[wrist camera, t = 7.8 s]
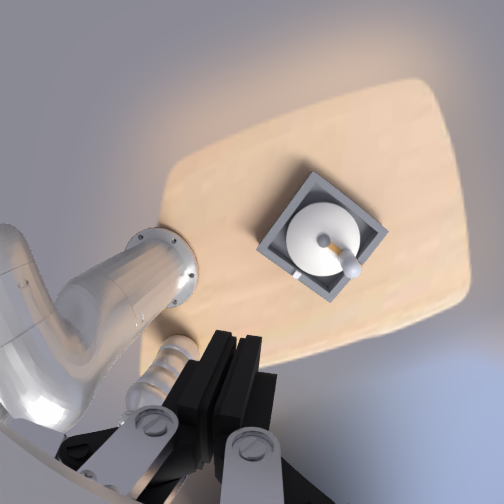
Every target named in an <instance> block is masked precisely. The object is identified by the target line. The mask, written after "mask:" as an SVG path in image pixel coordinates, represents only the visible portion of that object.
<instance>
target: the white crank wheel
mask: <svg viewBox="0 0 504 504" xmlns="http://www.w3.org/2000/svg"><path fill="white" fill-rule="evenodd" d="M286 244H287V249H288V253H289V255H290V257H291V259H292V260H293V262H294V263H295V264H296V265H297V266H298V267H299V268H300V269H301V270H303V271H305V272H307V273H309V274H312V275H316V276H330V275H334V274H336V273H339V272H341V271H342V270H343V272H344V274H345V276H346V277H348V278H351V279H353V278H356V277H358V276H359V275H360V273H361V265H360V264H359V262H358V261H357V259H356V255H357V252H358V250H359V245H360V233H359V229H358V226H357V224H356V222H355V220H354V218H353V217H352V216H351V215H350V214H349V213H348V212H347V211H346V210H345V209H344V208H342V207H340V206H339V205H337V204H334V203H331V202H322V201H321V202H314V203H311V204H308V205H306V206H304V207H303V208H301V209H300V210H299V211H298V212H297V213H296V214H295V215H294V216H293V218H292V220H291V221H290V224H289V226H288V230H287V236H286Z"/></svg>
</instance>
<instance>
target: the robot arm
mask: <svg viewBox="0 0 504 504" xmlns="http://www.w3.org/2000/svg"><path fill="white" fill-rule="evenodd" d="M175 239H176V241H175ZM192 273H193V274H194V275H193V274H192ZM197 282H198V265H197V260H196V258H195V255H194V253H193V251H192V249H191V248H190V246H189V245H188V244H187V243H186V241H185V240H184V239H183V238H181V237H180V236H179V235H178V234H176V233H174V232H172V231H171V230H168V229H165V228H158V227H154V228H148V229H145V230H143V231H140V232H138V233H137V234H136V235H135V236H134V237H132V238H131V240H130V241H129V242H128V244H127V247H126V249H125V251H124V252H122V253H120V254H118V255H116V256H114V257H112V258H110V259H108V260H106V261H104V262H102V263H100V264H98V265H96V266H94V267H92V268H90V269H89V270H87V271H85V272H84V273H81V274H79V275H78V276H76V277H74V278H73V279H71V280H70V281H69V282H68V283H67V284H66V285H65V286H64V287H63V288H62V290H61V291H60V292H59V294H58V296H57V298H56V300H55V302H54V303H53V301H52V299H51V297H50V295H49V293H48V290H47V288H46V286H45V284H44V281H43V279H42V277H41V274H40V272H39V269H38V267H37V264H36V262H35V259H34V256H33V254H32V251H31V249H30V247H29V244H28V242H27V240H26V238H25V237H24V235H23V234H22V232H21V231H20V230H19V229H17V228H16V227H15V226H12V225H11V224H5V223H0V504H170V503H171V502H172V500H173V499H174V497H175V496H176V494H177V492H178V491H179V489H180V488H181V486H182V485H183V483H184V482H185V480H186V477H187V475H188V474H191V473H194V472H196V469H201V470H202V468H203V466H204V463H210V462H211V459H212V457H213V454H214V465H215V477H216V478H217V479H218V481H219V482H220V483H221V484H222V490H221V502H220V504H335V503H334V502H333V501H332V500H331V499H330V498H329V497H327V496H326V495H325V494H324V493H322V492H321V491H320V490H319V489H317V488H316V487H315V486H314V485H313V484H311V483H310V482H309V481H308V480H307V479H306V478H304V477H303V476H302V475H301V474H300V473H299V472H298V471H296V470H295V469H294V468H293V467H292V466H291V465H289V463H287V462H286V461H285V460H284V459H283V458H282V457H281V454H280V445H279V442H278V440H277V438H276V437H275V436H274V435H273V434H272V433H271V432H269V425H270V419H271V413H272V406H273V400H274V393H275V386H276V379H277V374H270V373H264V372H258V368H259V360H260V351H261V343H262V337H259V336H252V335H247V336H246V338H240V340H239V343H238V346H237V349H236V342H237V338H236V337H233V336H232V333H231V332H227V331H221V330H216V331H215V333H214V335H213V337H212V339H211V341H210V342H209V344H208V346H207V348H206V350H205V352H204V354H203V356H202V358H201V359H200V361H196V360H192V359H190V360H188V362H187V363H186V365H185V366H184V368H183V370H182V371H181V373H180V375H179V377H178V378H177V380H176V382H175V383H174V385H173V387H172V388H171V390H170V392H169V394H168V395H167V397H166V399H165V400H164V402H163V404H162V405H161V406H159V405H149V406H144V407H141V408H139V409H137V410H136V411H135V412H134V413H133V414H132V415H131V416H130V417H129V418H128V419H127V420H126V421H125V422H124V423H123V424H122V425H121V426H120V427H115V428H111V429H106V430H102V431H97V432H92V433H87V434H81V435H76V436H72V437H67V436H66V434H65V433H63V432H65V431H67V430H69V429H70V428H72V427H73V426H74V425H75V424H76V423H77V422H78V421H79V420H80V419H81V417H82V416H83V415H84V413H85V412H86V410H87V409H88V407H89V405H90V403H91V402H92V400H93V397H94V396H95V394H96V392H97V390H98V387H99V386H100V384H101V382H102V380H103V378H104V377H105V375H106V374H107V372H108V371H109V369H110V368H111V367H112V366H113V364H114V363H115V362H116V360H117V359H118V358H119V357H120V356H121V355H122V354H123V352H124V351H125V350H126V349H127V348H128V347H129V346H130V345H131V344H132V343H133V341H134V340H136V338H137V337H138V336H139V335H140V334H141V333H142V332H143V331H144V330H145V329H146V328H147V327H148V326H149V325H150V323H151V322H152V321H153V320H154V319H155V318H156V317H157V316H158V315H159V314H160V313H161V312H162V311H163V310H164V309H165V308H172V307H176V306H179V305H181V304H183V303H184V302H185V301H187V300H188V298H189V297H190V296H191V295H192V293H193V292H194V290H195V288H196V286H197ZM9 414H11V416H12V417H13V418H15V419H14V420H12V421H10V422H9V424H8V425H6V424H4V423H5V421H6V420H7V418H8V416H9ZM348 504H349V503H348Z"/></svg>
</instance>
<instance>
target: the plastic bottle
mask: <svg viewBox="0 0 504 504" xmlns="http://www.w3.org/2000/svg"><path fill="white" fill-rule="evenodd" d="M199 356H200V352H199V349H198V347H197V345H196V343H195V342H194V341H193V340H191V339H190V338H188V337H186V336H183V335H173V336H170V337H169V338H167V339H166V340H165V341H164V342H163V343H162V345H161V347H160V349H159V351H158V354H157V356H156V358H155V360H154V361H153V363H152V365H151V366H150V367H149V369H148V370H147V371H146V372H145V373H144V374H143V375H142V376H141V377H140V378H139V379H138V380H137V381H136V382H135V383H134V384H133V385H132V386H131V387H130V388H129V389H128V391H127V393H126V398H125V401H126V409H127V411H125V412H124V413H123V414H122V417H121V419H120V420H119V421H118V427H120V426H121V425H122V424H123V423H124V422H125V421H126V420H127V419H128V418H129V417H130V416H131V415H132V414H133V413H134V412H135V411H136V410H137V409H139V408H141V407H144V406H149V405H159V406H161V405H162V404H163V402H164V400H165V399H166V397H167V395H168V394H169V392H170V390H171V388H172V387H173V385H174V383H175V382H176V380H177V378H178V377H179V375H180V373H181V371H182V370H183V368H184V366H185V365H186V363H187V362H188V360H190V359H192V360H196V361H199Z"/></svg>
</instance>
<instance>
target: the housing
mask: <svg viewBox="0 0 504 504" xmlns="http://www.w3.org/2000/svg"><path fill="white" fill-rule="evenodd" d="M321 201H322V202H331V203H334V204H337V205H339V206H340V207H342V208H344V209H345V210H346V211H347V212H348V213H349V214H350V215H351V216H352V217H353V218H354V220H355V222H356V224H357V226H358V229H359V233H360V245H359V250H358V252H357V255H356V259H357V261H358V262H359V264H360V265H361V268H362V267H363V266H362V265H363V264H364V262H365V261H366V260H367V259H368V257H369V256H370V255H371V254H372V252H373V251H374V250H375V249H376V247H377V246H378V245H379V244H380V242H381V241H382V240H383V238H384V237H385V236H386V234H387V233H388V232H389V231H388V230H387V229H385V228H384V227H383V226H382V225H381V224H380V223H378V222H377V221H376V220H375V219H374V218H373V217H371V216H370V215H369V214H368V213H367V212H365V211H364V210H363V209H362V208H360V207H359V206H358V205H357V204H355V203H354V202H353V201H352V200H350V199H349V198H348V197H347V196H345V195H344V194H343V193H342V192H340V191H339V190H338V189H336V188H335V187H334V186H333V185H331V184H330V183H329V182H327V181H326V180H325V179H323V178H322V177H321V176H319V175H318V174H317V173H315V172H314V171H312V172H311V173H310V175H309V176H308V177H307V179H306V180H305V182H304V183H303V184H302V186H301V187H300V189H299V190H298V191H297V193H296V194H295V195H294V197H293V198H292V200H291V201H290V202H289V204H288V205H287V206H286V208H285V209H284V211H283V212H282V213H281V215H280V216H279V217H278V219H277V220H276V222H275V223H274V224H273V226H272V227H271V228H270V230H269V231H268V233H267V234H266V235H265V237H264V238H263V239H262V241H261V242H260V244H259V245H258V247H257V249H256V250H257V251H258V252H260V253H261V254H262V255H264V256H265V257H267V258H268V259H269V260H271V261H272V262H274V263H275V264H276V265H278V266H279V267H281V268H282V269H283V270H285V271H286V272H288V273H289V274H290V275H292V277H294V278H295V279H296V280H299V281H300V282H302V283H303V284H304V285H306V286H307V287H309V288H310V289H311V290H313V291H314V292H316V293H317V294H318V295H320V296H321V297H323V298H324V299H325V300H327V301H328V302H330V303H331V302H332V300H333V299H334V298H335V297H336V296H337V295H338V294H339V292H340V291H341V290H342V289H343V288H344V287H345V285H346V284H347V283H348V282H349V281H350V279H351V278H348V277H346V276H345V274H344V272H343V270H342V271H341V272H339V273H336V274H334V275H330V276H316V275H312V274H309V273H307V272H305V271H303V270H301V269H300V268H299V267H298V266H297V265H296V264H295V263H294V262H293V260H292V259H291V257H290V255H289V253H288V249H287V244H286V236H287V230H288V226H289V224H290V221H291V220H292V218H293V216H294V215H295V214H296V213H297V212H298V211H299V210H300V209H301V208H303V207H304V206H306V205H308V204H311V203H314V202H321Z"/></svg>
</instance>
